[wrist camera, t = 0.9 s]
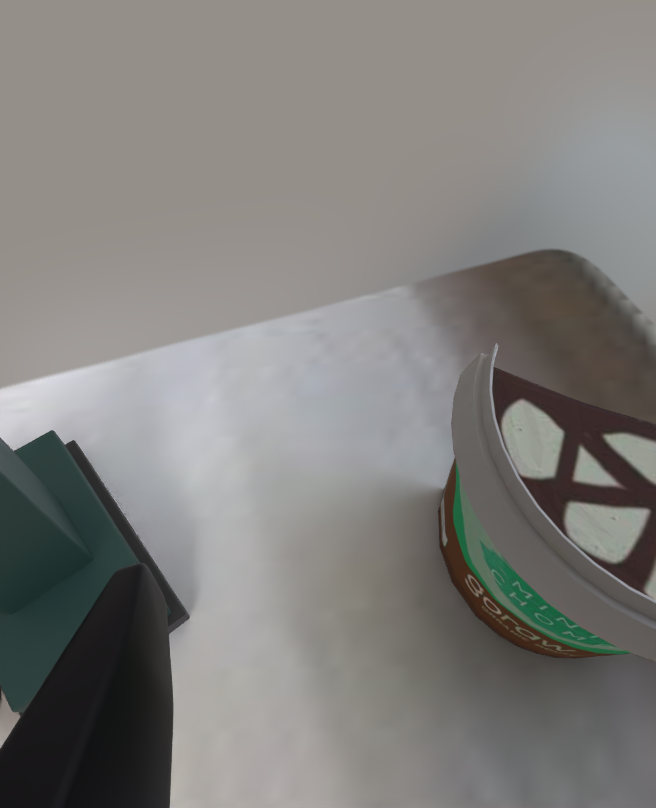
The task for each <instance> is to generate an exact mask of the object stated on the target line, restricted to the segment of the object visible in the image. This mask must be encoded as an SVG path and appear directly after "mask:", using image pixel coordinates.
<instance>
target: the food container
mask: <svg viewBox="0 0 656 808" xmlns="http://www.w3.org/2000/svg"><path fill="white" fill-rule="evenodd" d="M497 349H498V344H497V343H496V344H495V345H494V347H493V349H492V350H491V352H490V353H489V355H488V356H487V355H485V354H483V353H480V354H479V356H478V357H477V358H476V359H475V360H474V361H473V362H472V363H471V364H470V365H469V366H468V367H467V368H466V369H465V370H464V371H463V372H462V373H461V375H460V378H459V381H458V385H457V388H456V392H455V395H454V402H453V412H452V422H451V425H452V437H453V449H454V455H455V459H454V462H453V465H452V468H451V471H450V474H449V477H448V480H447V483H446V486H445V489H444V493H443V496H442V500H441V504H440V507H439V511H438V513H439V542H440V549H441V552H442V555H443V557H444V560H445V563H446V566H447V569H448V572H449V575H450V578H451V581H452V583H453V584H454V586H455V587H456V588H457V590H458V591H459V593H460V594H461V596H462V597H463V598H464V600H465V601H466V603H467V604H468V606H469V607H470V608H471V610H472V611H473V613H474V614H475V615H476V616H477V617H478V618H479V619H480V620H482V621H483V622H484V623H485V624H486V625H488V626H489V627H490V628H491V629H492V630H494V631H495V632H496V633H497V634H498V635H500V636H501V637H503V638H504V639H506V640H508V641H510V642H511V643H513V644H515V645H517V646H519V647H521V648H524V649H526V650H529V651H531V652H534V653H537V654H541V655H546V656H551V657H556V658H582V657H593V656H605V655H616V654H627V653H633V654H636V655H638V656H641V657H644V658H646V659H649V660H652V661H654V662H656V424H653V423H650V422H647V421H643V420H640V419H636V418H633V417H629V416H626V415H622V414H619V413H615V412H612V411H608V410H605V409H602V408H599V407H595V406H592V405H589V404H586V403H583V402H580V401H577V400H575V399H572V398H570V397H567V396H565V395H562V394H560V393H557V392H554V391H552V390H549V389H547V388H544V387H542V386H539V385H537V384H534V383H532V382H529V381H527V380H524V379H522V378H519V377H517V376H514V375H512V374H510V373H507V372H505V371H502V370H500V369H497V368H495V367H493V365H494V361H495V357H496V353H497Z"/></svg>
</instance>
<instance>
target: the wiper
mask: <svg viewBox="0 0 656 808" xmlns="http://www.w3.org/2000/svg"><path fill="white" fill-rule="evenodd" d="M137 563H144V564H146V565H147V566H148V568H149V570H150V571H151V573H152V575H153V577H154V578H155V580H156V582H157V584H158V586H159V587H160V589H161V591H162V593H163V595H164V598H165V601H166V607H167V619H168V633H171V632H172V631H173V630H175V629H176V628H177V627H179V626H180V625H181V624H183V623H184V622H185V621H186V620H188V619H189V618H190V617H189V615H188V613H187V612H186V610H185V609H184V607H183V605H182V604H181V602H180V601H179V599H178V598H177V596H176V595H175V593H174V592H173V590H172V589H171V587H170V585H169V584H168V582H167V581H166V579H165V578H164V576H163V575H162V573H161V572H160V570H159V569H158V567H157V565H156V564H155V562H154V561H153V559H152V558H151V556H150V555H149V553H148V552H147V550H146V549H145V547H144V545H143V544H142V542H141V541H140V539H139V538H138V536H137V535H136V533H135V532H134V530H133V528H132V527H131V525H130V524H129V522H128V521H127V519H126V518H125V516H124V515H123V513H122V512H121V510H120V508H119V507H118V505H117V504H116V502H115V501H114V499H113V498H112V496H111V495H110V493H109V492H108V490H107V488H106V487H105V485H104V484H103V482H102V481H101V479H100V478H99V476H98V475H97V473H96V472H95V470H94V468H93V467H92V465H91V464H90V462H89V461H88V459H87V458H86V456H85V455H84V453H83V452H82V450H81V449H80V447H79V446H78V444H77V443H76V442H75V441H74V440H73V441H71V442H69V443H67V444H66V445H64V443H63V442H62V441H61V439H60V438H59V437H58V435H57V434H56V433H55V432H54V431H53V430H52V431H50V432H48V433H46V434H44V435H42V436H41V437H39V438H37V439H35V440H33V441H32V442H30V443H28V444H26V445H24V446H23V447H21V448H19V449H17V450H15V451H13V450H12V449H11V448H10V447H9V446H8V445H7V444H6V443H5V442H4V441H3V440H2V439H1V438H0V686H1V688H2V690H3V693H4V695H5V697H6V699H7V701H8V703H9V705H10V707H11V710H12V711H13V712H18V713H19V714H20V716H22V714H23V713H24V711H25V710H26V708H27V707H28V705H29V703H30V702H31V700H32V699H33V697H34V696H35V694H36V693H37V691H38V690H39V688H40V686H41V685H42V683H43V682H44V680H45V679H46V677H47V676H48V674H49V673H50V671H51V669H52V668H53V666H54V665H55V663H56V662H57V660H58V659H59V657H60V656H61V654H62V652H63V651H64V649H65V648H66V646H67V645H68V643H69V642H70V640H71V638H72V637H73V635H74V634H75V632H76V631H77V629H78V628H79V626H80V625H81V623H82V621H83V620H84V618H85V617H86V615H87V614H88V612H89V611H90V609H91V608H92V606H93V604H94V603H95V601H96V600H97V598H98V597H99V595H100V594H101V592H102V591H103V589H104V587H105V586H106V584H107V583H108V581H109V580H110V578H111V577H112V575H113V574H114V572H115V571H116V570H118V569H119V568H122V567H126V566H129V565H133V564H137Z"/></svg>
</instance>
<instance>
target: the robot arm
mask: <svg viewBox="0 0 656 808" xmlns="http://www.w3.org/2000/svg"><path fill="white" fill-rule="evenodd" d="M172 738H173V688H172V674H171V660H170V646H169V633H168V619H167V607H166V601H165V598H164V595H163V593H162V591H161V589H160V587H159V586H158V584H157V582H156V580H155V578H154V577H153V575H152V573H151V571H150V570H149V568H148V566H147V565H146V564H144V563H137V564H133V565H129V566H126V567H122V568H119V569H118V570H116V571H115V572H114V574H113V575H112V577H111V578H110V580H109V581H108V583H107V584H106V586H105V587H104V589H103V591H102V592H101V594H100V595H99V597H98V598H97V600H96V601H95V603H94V604H93V606H92V608H91V609H90V611H89V612H88V614H87V615H86V617H85V618H84V620H83V621H82V623H81V625H80V626H79V628H78V629H77V631H76V632H75V634H74V635H73V637H72V638H71V640H70V642H69V643H68V645H67V646H66V648H65V649H64V651H63V652H62V654H61V656H60V657H59V659H58V660H57V662H56V663H55V665H54V666H53V668H52V669H51V671H50V673H49V674H48V676H47V677H46V679H45V680H44V682H43V683H42V685H41V686H40V688H39V690H38V691H37V693H36V694H35V696H34V697H33V699H32V700H31V702H30V703H29V705H28V707H27V708H26V710H25V711H24V713H23V714H22V716H21V717H20V719H19V721H18V722H17V724H16V725H15V727H14V728H13V730H12V731H11V733H10V734H9V736H8V738H7V739H6V741H5V742H4V744H3V745H2V747H1V748H0V808H170V787H171V762H172Z"/></svg>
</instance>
